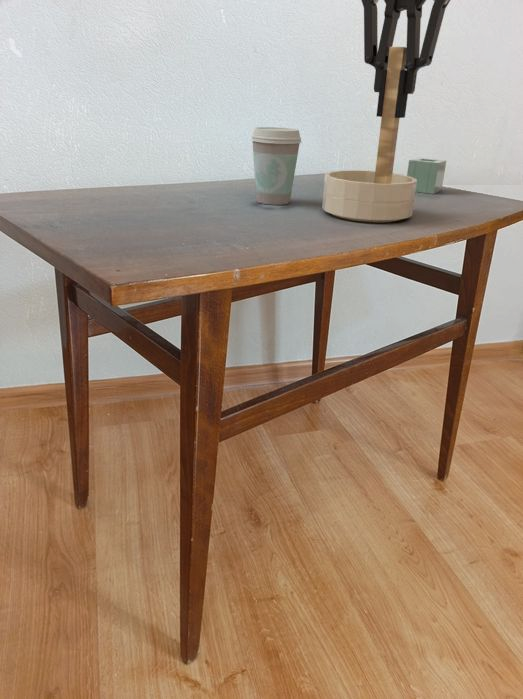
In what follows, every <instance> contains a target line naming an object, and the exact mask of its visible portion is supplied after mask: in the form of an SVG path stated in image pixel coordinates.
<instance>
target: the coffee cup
mask: <svg viewBox="0 0 523 699" xmlns="http://www.w3.org/2000/svg"><path fill="white" fill-rule="evenodd" d="M250 141H251V142H252V154H253V155H252V156H253V157H252V158H253V169H254V182H255V183H254V184H255V197H256V202H257V203H259V204H263V205H271V206H283V205H289V204H290V202H291V198H292V197H291V196H292V192H293V191H292V190H293V185H294V180H295V174H296V168H297V161H298V156H299V150H300V144H302V137H301V133H300V130H299V129H296V128H289V127H274V126H272V127H271V126H270V127H269V126H259V127H258V126H257V127H254V129H253V133H252V135H251V139H250Z"/></svg>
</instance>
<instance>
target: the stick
mask: <svg viewBox="0 0 523 699" xmlns="http://www.w3.org/2000/svg"><path fill="white" fill-rule="evenodd" d="M406 49H407V46H392V47H390V49H389V58H388V66H387V75H386V84H385V92H384V101H383V109H382V117H380V118H381V120H380V127H379V135H378V144H377V145H378V146H377V152H376V160H375V170H374V171H375V178H374V183H388V184H390V183H391V181H392V173H394V164H395V157H396V156H395V155H396V150H397V142H398V134H399V126H400V119H401V118H394V117H395V109H396V101H397V93H398V85H399V77H400V70H407V69H405V66H404V65H406Z"/></svg>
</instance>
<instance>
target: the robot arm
mask: <svg viewBox="0 0 523 699" xmlns="http://www.w3.org/2000/svg"><path fill="white" fill-rule="evenodd" d="M360 1H361V3H362V7H363V47H364V48H363V54H364V55H363V59H364V60H363V61H364V63H365V64H367V65H370V66H372V67H373V68H374V69H375V70H374V72H375V73H374V81H373V92H374V93H378V98H377V107H376V117H378V118H379V117H380V118H382V109H383V101H384V92H385V84H386V75H387V66H388V58H389V49H390V47H393V46H394V45H393V44H394V39H395V35H396V31H397V27H398V22H399V19H400V17H401V12H403V11H406V18H407V20H406V25H407V26H406V48H407V49H406V65H404V66H405V69H406V70H400V77H399V85H398V93H397V101H396V109H395V117H394V118H400V119H401V118H402V119H403V118H404V119H405V118H406V113H407V112H406V111H407V104H408V97H409V96H408V95H413V94H414V93H415V90H416V83H417V77H418V71H419V70H421V68H424V67H429V66H430V65H431V64H432V62H433V59H434V54H435V50H436V47H437V43H438V39H439V35H440V31H441V26H442V24H443V19H444V17H445V12H446V9H447V7H448V5H449V4H450V2H451V0H433V3H432V7H431V10H430V14H429V18H428V22H427V26H426V30H425V34H424V38H423V42H422V45H421V26H422V24H421V23H422V22H421V20H422V16H423V5H425V3H426V1H427V0H383V1H384V3H385V8H384V13H383V14H384V19H383V25H382V29H381V33H380V38H379V43H378V35H379V34H378V6H377V4H378V3H379V0H360ZM420 49H421V50H420Z"/></svg>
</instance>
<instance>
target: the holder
mask: <svg viewBox="0 0 523 699" xmlns="http://www.w3.org/2000/svg"><path fill="white" fill-rule="evenodd" d="M446 165H447V159H437V158H436V159H435V158H427V157H426V158H424V157H416V158H412V159H409V160H408V165H407V171H406V176H410V177H413V178H415V179H417V184H416V191H415V193H423V194H428V195H429V194H431V195H434V194H437V193H439V192H441V191H442V190H443V185H444V178H445V172H446Z"/></svg>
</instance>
